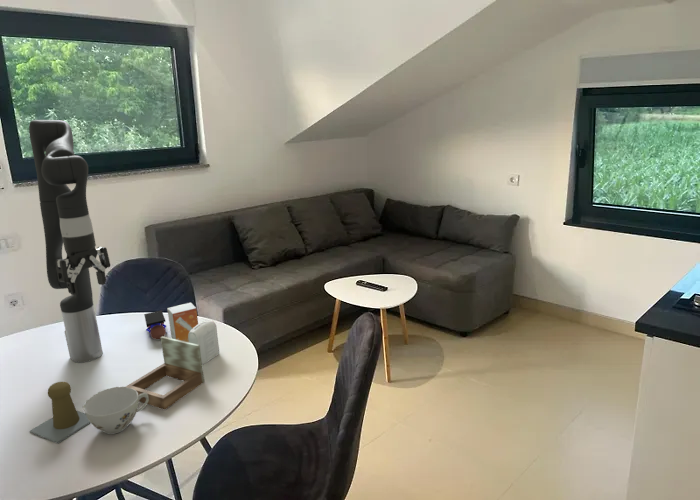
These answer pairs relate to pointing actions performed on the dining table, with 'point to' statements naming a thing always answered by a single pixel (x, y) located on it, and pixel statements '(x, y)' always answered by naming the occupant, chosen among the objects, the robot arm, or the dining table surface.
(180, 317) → the small box
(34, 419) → the dining table surface
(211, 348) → the photo printer
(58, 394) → the cork
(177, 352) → the cold frame
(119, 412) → the teacup
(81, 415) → the mat
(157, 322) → the figurine character
